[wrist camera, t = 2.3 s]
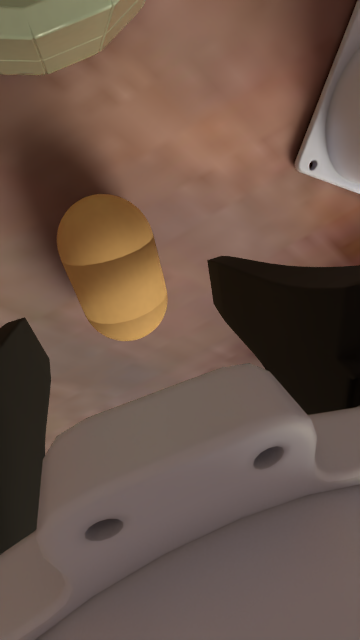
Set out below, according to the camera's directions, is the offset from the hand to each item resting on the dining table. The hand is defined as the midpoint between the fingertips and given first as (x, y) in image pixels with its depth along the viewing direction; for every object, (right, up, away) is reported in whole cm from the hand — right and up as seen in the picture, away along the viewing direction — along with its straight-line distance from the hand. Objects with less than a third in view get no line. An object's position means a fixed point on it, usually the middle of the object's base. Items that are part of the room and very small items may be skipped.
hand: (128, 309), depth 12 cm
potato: (-2, +3, +5) cm, 6 cm away
